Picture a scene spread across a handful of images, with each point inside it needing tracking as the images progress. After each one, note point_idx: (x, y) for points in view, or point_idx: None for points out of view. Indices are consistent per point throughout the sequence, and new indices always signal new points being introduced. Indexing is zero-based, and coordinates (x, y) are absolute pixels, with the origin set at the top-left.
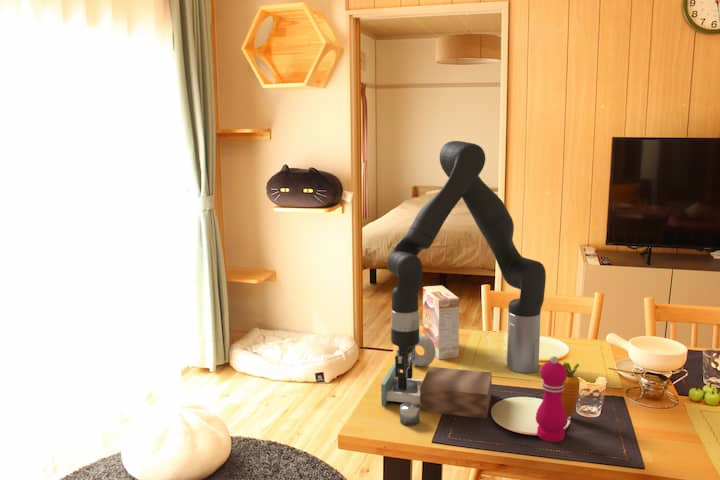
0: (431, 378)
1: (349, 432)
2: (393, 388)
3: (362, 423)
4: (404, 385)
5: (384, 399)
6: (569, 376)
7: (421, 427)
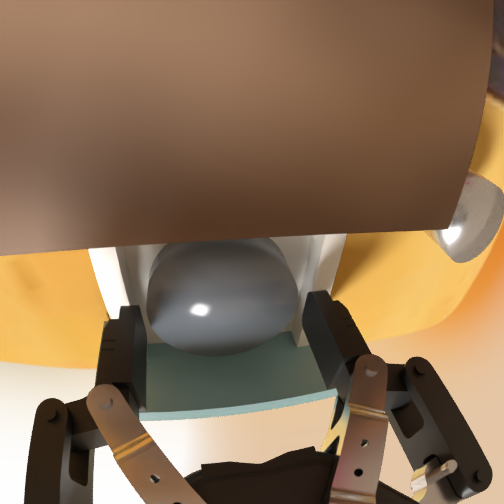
0: (274, 163)
1: (445, 317)
2: None
3: (417, 313)
4: (345, 317)
5: None
6: None
7: None
